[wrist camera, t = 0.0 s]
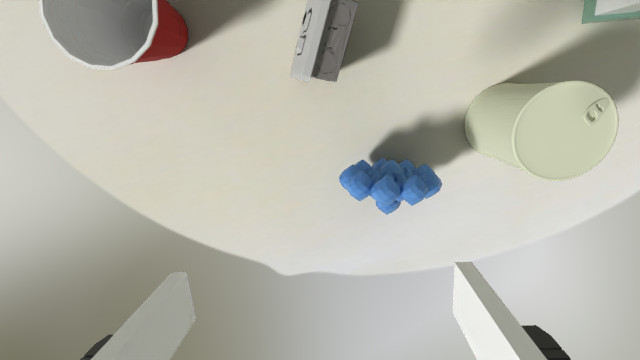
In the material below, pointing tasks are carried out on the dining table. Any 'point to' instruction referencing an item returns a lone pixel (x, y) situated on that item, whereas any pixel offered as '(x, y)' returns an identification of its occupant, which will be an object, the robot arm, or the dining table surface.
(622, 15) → the board
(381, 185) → the grapes
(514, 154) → the can
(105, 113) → the dining table surface
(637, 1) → the plug
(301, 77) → the electrical switch
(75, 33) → the plastic cup
